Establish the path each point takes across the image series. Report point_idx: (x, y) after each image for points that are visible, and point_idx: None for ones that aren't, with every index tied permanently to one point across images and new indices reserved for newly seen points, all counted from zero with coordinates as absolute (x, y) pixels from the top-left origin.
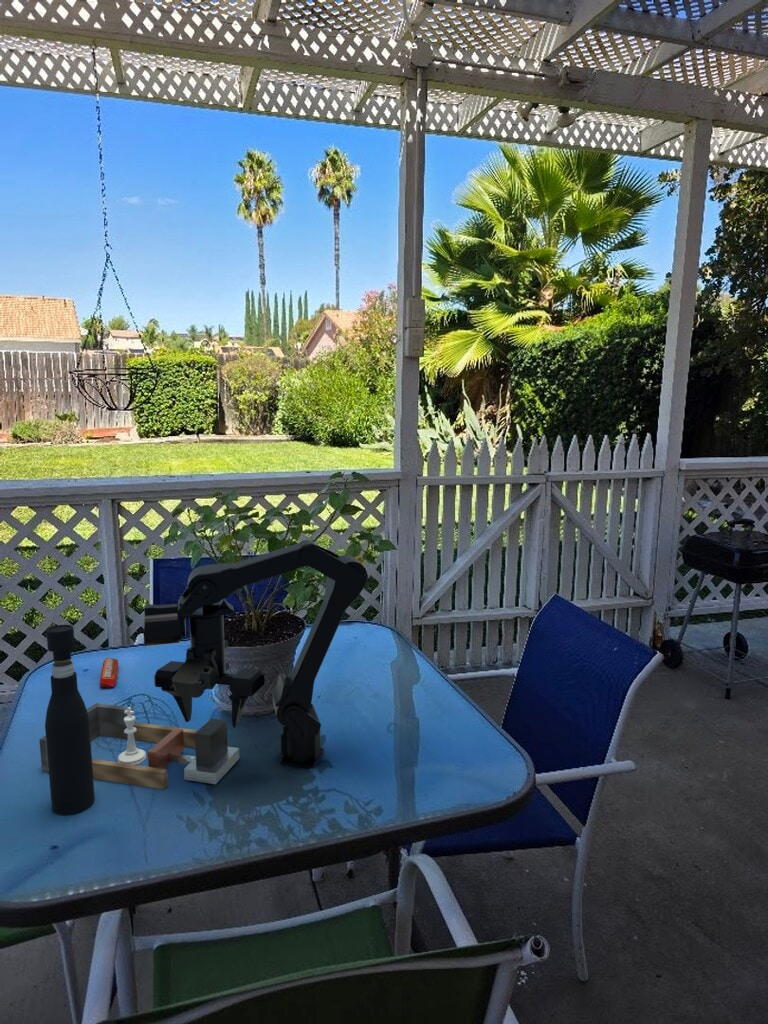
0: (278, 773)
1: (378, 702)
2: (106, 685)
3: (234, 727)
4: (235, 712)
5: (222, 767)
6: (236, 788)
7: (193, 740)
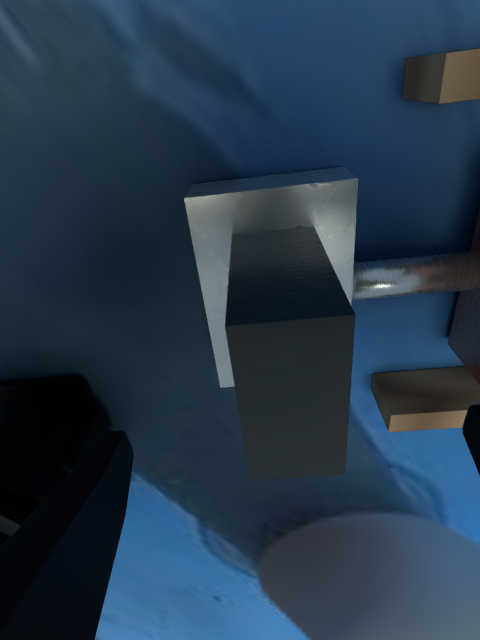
0: (45, 332)
1: None
2: None
3: (110, 431)
4: (16, 547)
5: (197, 261)
6: (102, 198)
7: (432, 389)
